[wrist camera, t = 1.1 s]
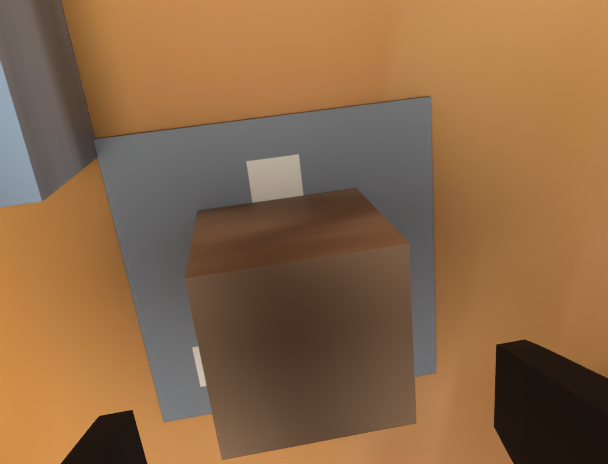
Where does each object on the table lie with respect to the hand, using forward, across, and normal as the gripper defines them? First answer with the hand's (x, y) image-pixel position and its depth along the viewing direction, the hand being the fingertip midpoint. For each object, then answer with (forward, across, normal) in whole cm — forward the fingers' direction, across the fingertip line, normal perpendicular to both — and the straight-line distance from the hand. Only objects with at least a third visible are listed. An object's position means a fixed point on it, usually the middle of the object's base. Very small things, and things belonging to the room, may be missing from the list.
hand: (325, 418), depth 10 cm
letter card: (+7, 0, 0) cm, 7 cm away
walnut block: (+7, 0, 0) cm, 7 cm away
